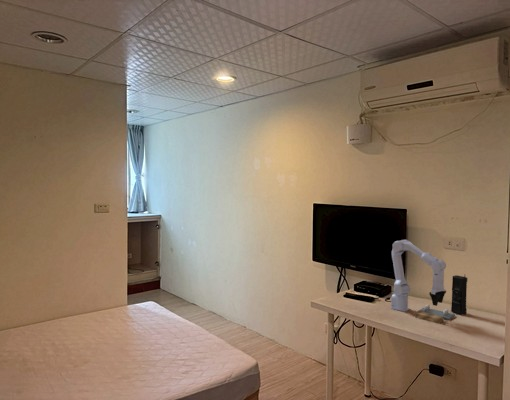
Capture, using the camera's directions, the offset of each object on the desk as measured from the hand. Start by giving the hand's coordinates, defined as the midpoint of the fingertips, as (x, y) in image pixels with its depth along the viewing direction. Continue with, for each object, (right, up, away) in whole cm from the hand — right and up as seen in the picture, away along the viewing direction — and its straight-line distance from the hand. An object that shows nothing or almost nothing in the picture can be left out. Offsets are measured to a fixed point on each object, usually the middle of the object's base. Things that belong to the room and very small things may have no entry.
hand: (437, 303), depth 217 cm
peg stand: (+4, -9, +9) cm, 13 cm away
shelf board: (-4, -10, +2) cm, 11 cm away
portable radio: (+19, -9, +12) cm, 24 cm away
